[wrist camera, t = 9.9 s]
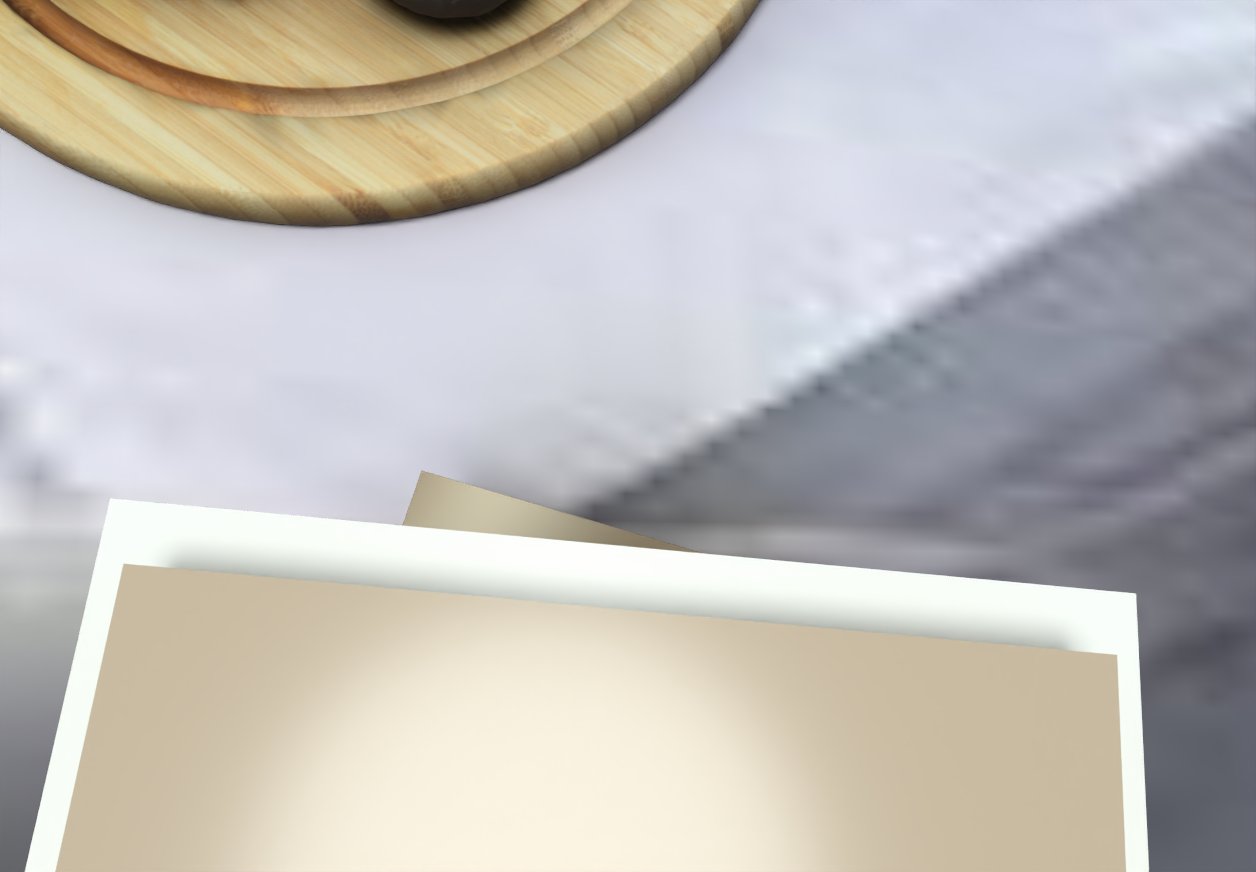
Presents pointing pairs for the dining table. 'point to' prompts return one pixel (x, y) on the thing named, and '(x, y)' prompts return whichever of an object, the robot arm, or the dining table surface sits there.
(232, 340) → the dining table surface
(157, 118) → the wooden plate with food
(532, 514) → the pale gold metal block
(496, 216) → the dining table surface
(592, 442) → the dining table surface
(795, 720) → the white square container
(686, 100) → the dining table surface
